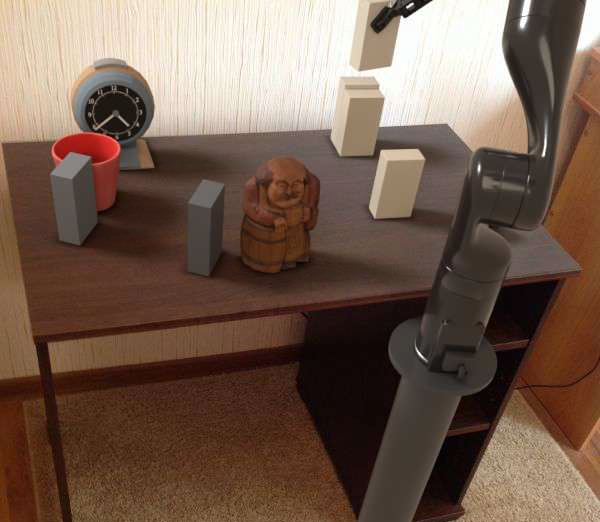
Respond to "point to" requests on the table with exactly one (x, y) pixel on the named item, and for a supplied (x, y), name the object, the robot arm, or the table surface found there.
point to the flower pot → (94, 162)
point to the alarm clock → (115, 108)
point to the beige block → (372, 38)
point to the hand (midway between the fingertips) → (367, 24)
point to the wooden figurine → (279, 215)
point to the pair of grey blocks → (83, 217)
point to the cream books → (361, 142)
